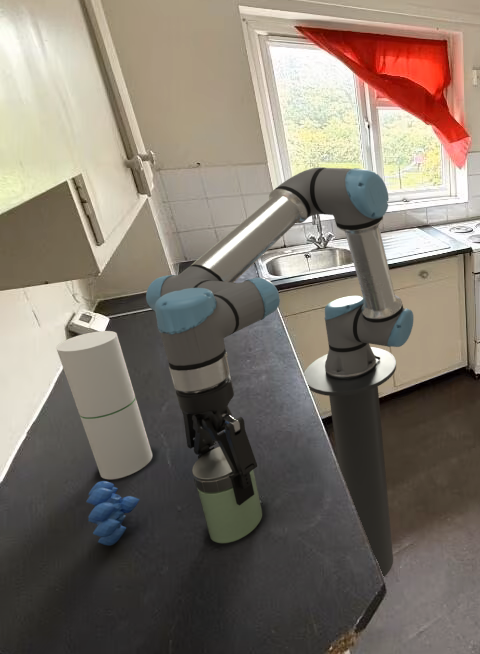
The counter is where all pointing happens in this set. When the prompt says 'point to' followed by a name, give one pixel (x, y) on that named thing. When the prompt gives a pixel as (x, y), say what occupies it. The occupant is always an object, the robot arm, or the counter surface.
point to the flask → (230, 513)
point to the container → (106, 402)
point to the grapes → (109, 511)
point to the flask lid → (212, 472)
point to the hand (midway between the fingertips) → (229, 489)
